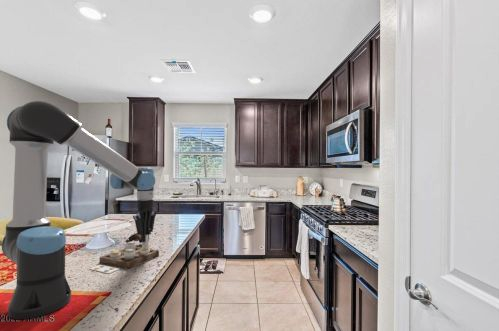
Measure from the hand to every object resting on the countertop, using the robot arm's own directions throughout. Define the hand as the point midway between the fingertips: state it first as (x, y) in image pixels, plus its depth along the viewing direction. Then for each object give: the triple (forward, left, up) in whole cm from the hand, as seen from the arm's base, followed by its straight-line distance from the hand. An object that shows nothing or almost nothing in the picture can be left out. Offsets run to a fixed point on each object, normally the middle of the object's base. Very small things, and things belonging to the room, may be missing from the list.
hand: (145, 248), depth 122 cm
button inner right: (-9, 0, -2) cm, 9 cm away
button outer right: (0, 0, -4) cm, 4 cm away
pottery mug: (+12, +18, -5) cm, 22 cm away
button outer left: (0, +9, -2) cm, 9 cm away
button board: (-5, +5, -4) cm, 8 cm away
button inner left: (-9, +9, -4) cm, 13 cm away
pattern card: (-18, +5, -4) cm, 19 cm away
